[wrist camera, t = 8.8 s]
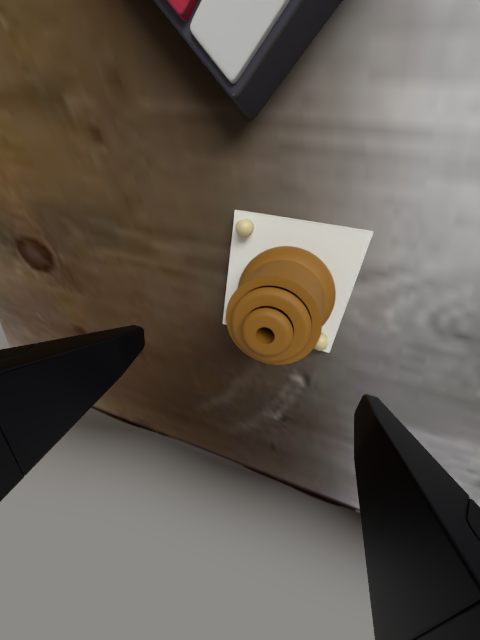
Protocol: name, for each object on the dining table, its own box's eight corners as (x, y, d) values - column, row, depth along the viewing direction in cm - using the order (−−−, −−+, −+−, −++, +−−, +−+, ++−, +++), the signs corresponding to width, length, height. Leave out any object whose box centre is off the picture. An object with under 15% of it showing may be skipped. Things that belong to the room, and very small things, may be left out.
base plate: (371, 230, 17) (376, 232, 15) (329, 347, 21) (329, 359, 20) (238, 209, 19) (230, 209, 17) (226, 319, 23) (218, 328, 22)
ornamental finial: (226, 288, 21) (288, 222, 17) (284, 346, 22) (356, 294, 18) (178, 326, 14) (264, 229, 10) (265, 411, 15) (377, 347, 11)
